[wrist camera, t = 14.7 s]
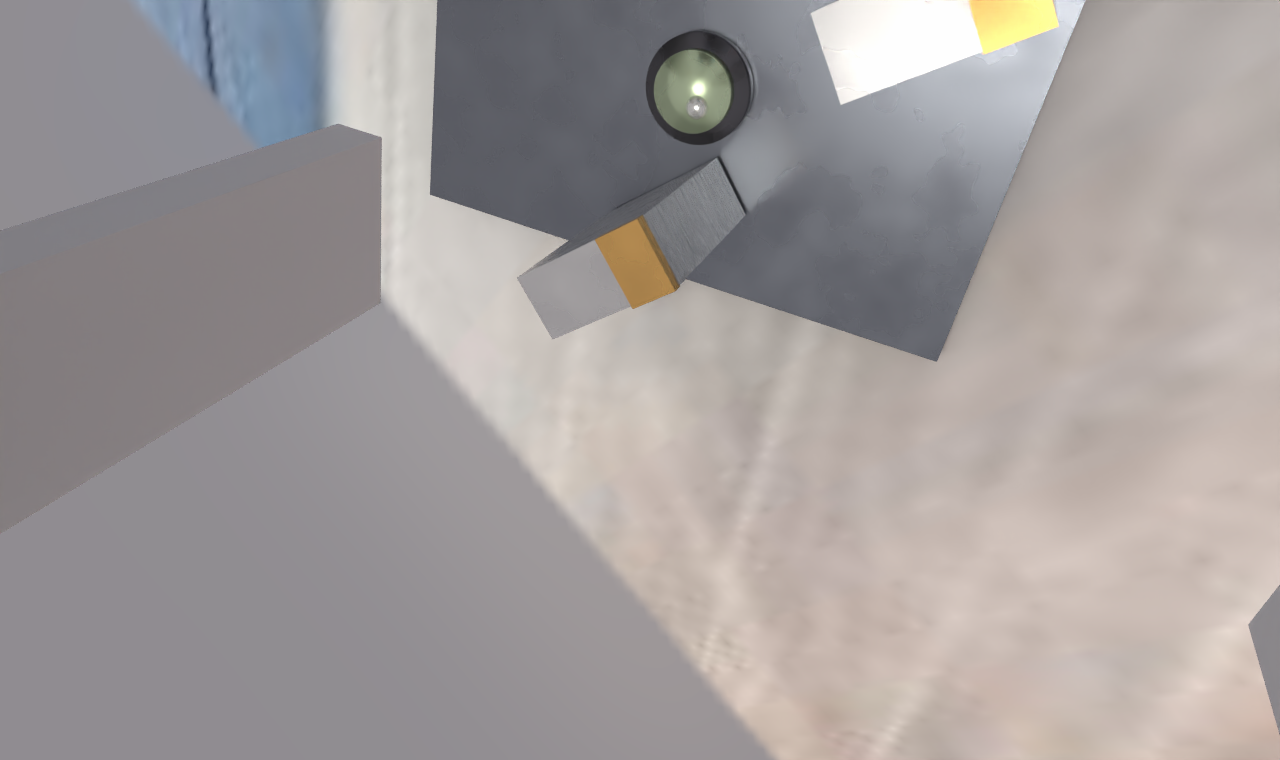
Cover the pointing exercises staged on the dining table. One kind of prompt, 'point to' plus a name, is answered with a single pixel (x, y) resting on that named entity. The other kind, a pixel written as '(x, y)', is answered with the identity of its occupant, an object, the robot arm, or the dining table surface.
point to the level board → (742, 145)
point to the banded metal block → (634, 251)
